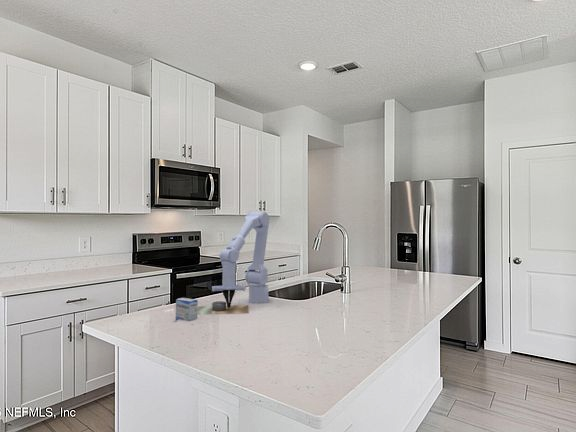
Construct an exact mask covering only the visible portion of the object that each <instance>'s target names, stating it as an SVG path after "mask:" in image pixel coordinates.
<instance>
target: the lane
mask: <svg viewBox="0 0 576 432" xmlns="http://www.w3.org/2000/svg"><path fill="white" fill-rule="evenodd" d="M232 314H233V315H237V314H249V305H248V304H244V305H243V304H241V305H240V304H239V305H231V307H230V308H227V305H226V310H225V311H213V310H212V305H202V306H201V305H198V308H197V316H198V315H232Z"/></svg>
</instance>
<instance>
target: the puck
mask: <svg viewBox="0 0 576 432" xmlns="http://www.w3.org/2000/svg"><path fill="white" fill-rule="evenodd" d="M211 306H212V310H213V311H225V310H226V306H227V303H226V301H222V300H217V301H213V302H212V303H211Z"/></svg>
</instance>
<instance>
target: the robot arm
mask: <svg viewBox="0 0 576 432" xmlns="http://www.w3.org/2000/svg"><path fill="white" fill-rule="evenodd" d="M270 220H271V219H270V216H269V214H268V213H267V212H266V211H249V212H247V214H246V215H245V217H244V223H243V225H242V226H241V229H240V231H239V232H238V234H237V235H234V236H233V237H232V238H231V241H230V242H229V243H228V245H227V246H226V248H224V249H223V250H221V252H220V254H219V259H220V262H221V266H222V280H221V281H222V285H214V286H213V285H212V287H211V288H212V289H211V292H222V295H223V296H224V299H225V302H226V306H227V308H230V307H231V306H232V302H233V298H234V296H235V293H236V292H237V291H243V292H246V290H247V289H246V285H241V284H240V285H239V284H237V283H236V281H237V280H236V272H237V271H236V267H237V263H236V262H237V261H238V260H239V257H240V251H241V250H242V248H243V246H244V245H245V242H246V241H245V239H246V237H247V236H248V235H249V233H250V232H251V231H252V229H254V230H255V232H256V234H255V243H254V250H253V255H252V264H250V265H249V266H248V267H247V271H246V273H245V282H246V283H247V285H248V302H249V304H268V303H269V301H270V299H269V298H270V297H269V285H268V284H267V283H268V280H269V277H268V269H267V268H266V266H265V265H264V263H265V256H266V247H267V242H268V241H267V240H268V232H269V225H270Z"/></svg>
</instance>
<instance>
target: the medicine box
mask: <svg viewBox="0 0 576 432" xmlns="http://www.w3.org/2000/svg"><path fill="white" fill-rule="evenodd" d="M198 302H199V301H198V299H193V298H187V297H180V298H177V299H175V321H176V320H177V321H178V320H183V321H184V320H185V321H188V322H191V321H193V320H197V319H198V315H197V308H198V306H199V305H198ZM177 321H176V322H177Z"/></svg>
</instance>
